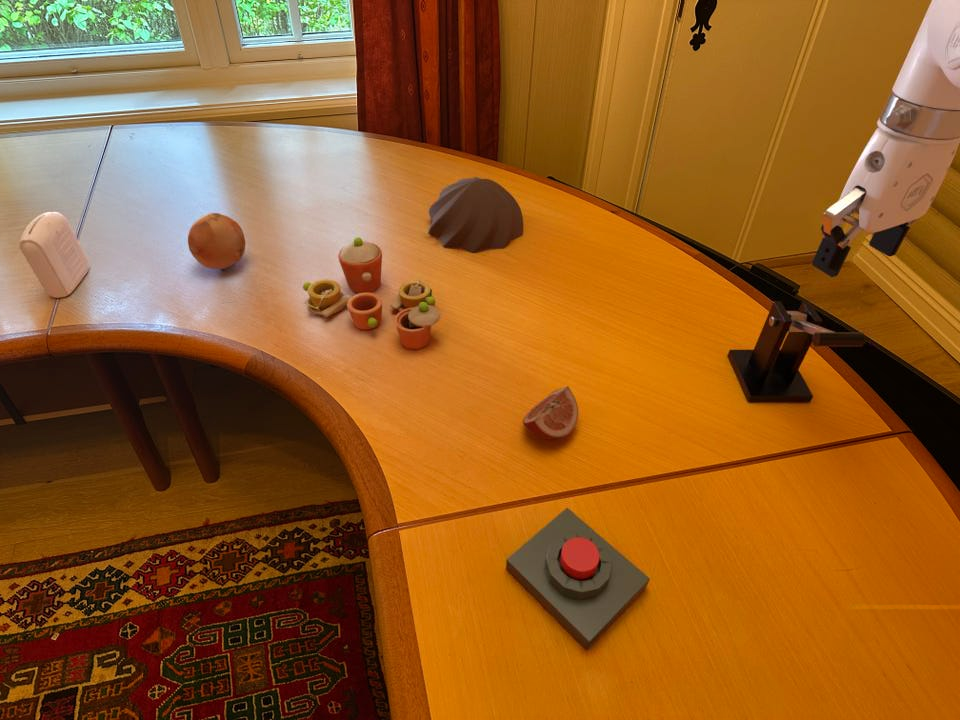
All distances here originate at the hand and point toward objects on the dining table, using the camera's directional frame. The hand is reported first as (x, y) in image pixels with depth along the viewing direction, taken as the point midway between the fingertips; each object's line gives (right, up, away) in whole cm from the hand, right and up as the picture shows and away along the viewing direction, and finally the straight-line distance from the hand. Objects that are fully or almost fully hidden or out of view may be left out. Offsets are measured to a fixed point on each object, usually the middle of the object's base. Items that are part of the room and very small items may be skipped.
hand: (852, 260), depth 72 cm
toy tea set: (-61, -4, +31) cm, 68 cm away
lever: (-1, -9, +7) cm, 11 cm away
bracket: (-1, -15, +19) cm, 24 cm away
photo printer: (-118, +2, +37) cm, 124 cm away
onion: (-92, +6, +41) cm, 101 cm away
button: (-34, -34, -7) cm, 48 cm away
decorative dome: (-45, +15, +51) cm, 70 cm away
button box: (-34, -36, -5) cm, 50 cm away
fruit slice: (-35, -21, +12) cm, 42 cm away
